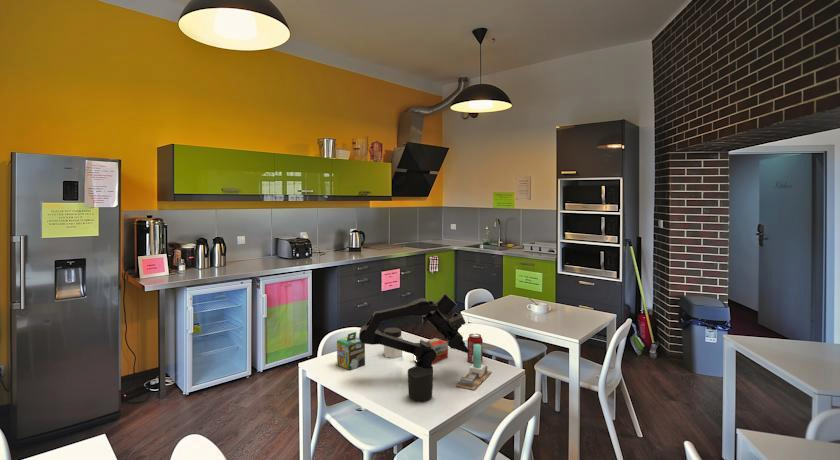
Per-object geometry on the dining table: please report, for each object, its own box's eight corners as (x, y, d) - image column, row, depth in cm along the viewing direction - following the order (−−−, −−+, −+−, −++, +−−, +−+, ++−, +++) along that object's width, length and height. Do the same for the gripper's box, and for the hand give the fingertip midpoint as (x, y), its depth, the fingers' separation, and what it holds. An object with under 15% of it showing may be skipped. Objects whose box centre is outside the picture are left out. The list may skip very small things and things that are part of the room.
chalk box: (353, 360, 204) (352, 328, 203) (365, 365, 198) (365, 332, 197) (336, 365, 197) (335, 332, 196) (349, 370, 191) (348, 336, 190)
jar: (391, 359, 204) (391, 333, 204) (379, 355, 210) (379, 330, 209) (405, 354, 211) (405, 329, 210) (394, 350, 216) (394, 326, 216)
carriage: (480, 377, 181) (481, 347, 180) (469, 375, 184) (469, 345, 183) (484, 373, 186) (485, 344, 185) (473, 371, 188) (473, 342, 187)
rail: (474, 390, 171) (474, 382, 171) (455, 386, 175) (455, 378, 174) (491, 372, 188) (491, 365, 188) (473, 369, 192) (473, 362, 192)
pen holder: (425, 390, 172) (425, 364, 171) (437, 399, 163) (437, 372, 163) (403, 395, 167) (403, 368, 167) (415, 405, 159) (415, 377, 158)
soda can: (481, 364, 198) (482, 337, 198) (466, 363, 200) (466, 336, 199) (482, 359, 205) (483, 333, 204) (468, 358, 206) (468, 332, 205)
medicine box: (435, 353, 212) (435, 337, 212) (448, 358, 207) (448, 341, 206) (413, 362, 201) (413, 344, 201) (426, 366, 196) (426, 349, 195)
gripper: (457, 314, 173) (485, 341, 174) (450, 303, 191) (475, 328, 193) (436, 334, 173) (465, 361, 174) (432, 321, 191) (457, 346, 193)
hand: (466, 348), depth 184 cm, fingers open, 9 cm apart
